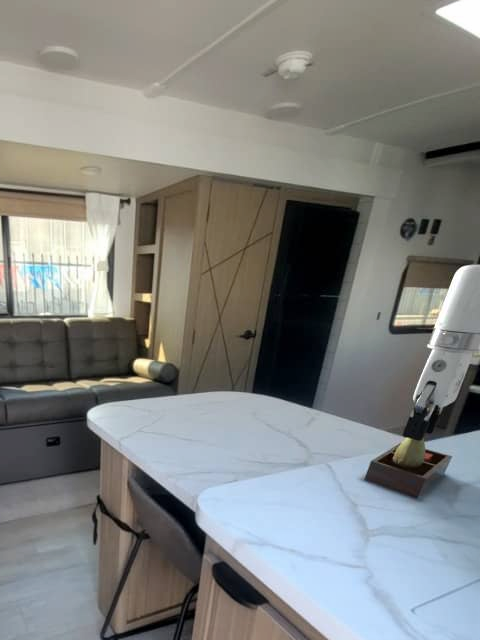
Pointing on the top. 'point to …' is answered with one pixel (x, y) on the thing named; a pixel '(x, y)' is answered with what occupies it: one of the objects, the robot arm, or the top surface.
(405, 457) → the fennel bulb
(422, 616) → the top surface
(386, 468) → the tray
